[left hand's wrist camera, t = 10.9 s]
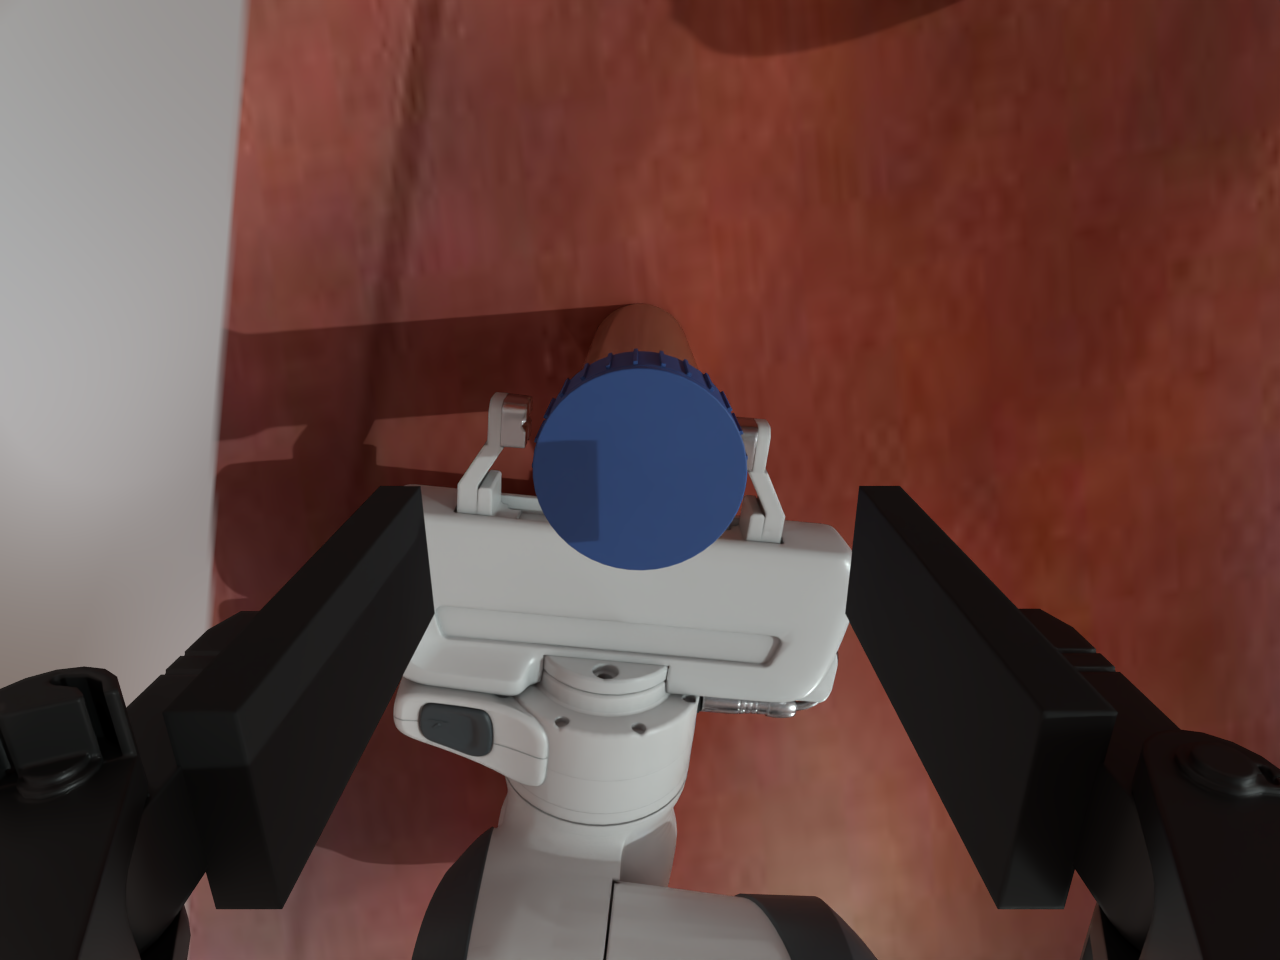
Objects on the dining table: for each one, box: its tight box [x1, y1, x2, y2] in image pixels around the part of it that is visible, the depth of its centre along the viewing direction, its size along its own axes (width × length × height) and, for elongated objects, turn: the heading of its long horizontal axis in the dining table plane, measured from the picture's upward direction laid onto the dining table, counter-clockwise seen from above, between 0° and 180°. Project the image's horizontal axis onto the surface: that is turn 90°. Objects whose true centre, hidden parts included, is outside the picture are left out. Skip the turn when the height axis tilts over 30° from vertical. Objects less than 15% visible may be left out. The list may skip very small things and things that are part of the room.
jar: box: [581, 304, 698, 370], centre depth 26 cm, size 5×5×17 cm
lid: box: [532, 349, 748, 570], centre depth 19 cm, size 6×6×2 cm
